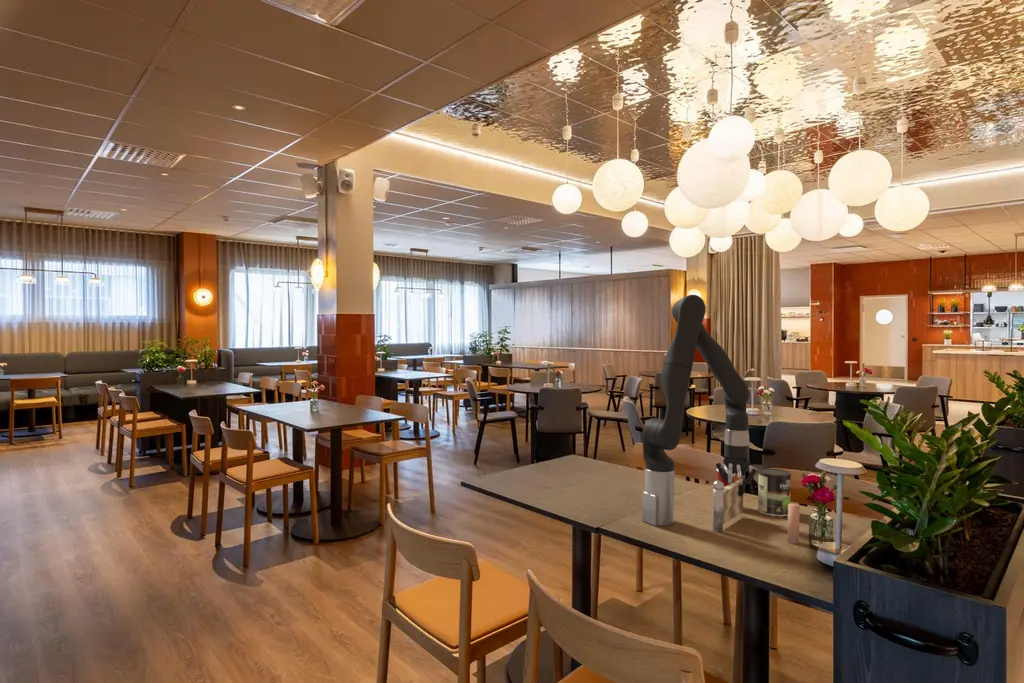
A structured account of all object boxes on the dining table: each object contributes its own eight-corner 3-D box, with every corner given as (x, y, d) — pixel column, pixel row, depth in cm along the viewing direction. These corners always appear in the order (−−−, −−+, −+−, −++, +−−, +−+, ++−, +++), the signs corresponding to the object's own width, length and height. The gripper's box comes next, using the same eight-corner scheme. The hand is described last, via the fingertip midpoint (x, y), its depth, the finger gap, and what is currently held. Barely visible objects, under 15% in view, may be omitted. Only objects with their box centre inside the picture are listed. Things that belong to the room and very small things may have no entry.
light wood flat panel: (723, 525, 175) (724, 491, 175) (717, 523, 176) (718, 490, 176) (743, 512, 187) (744, 481, 187) (737, 511, 189) (738, 480, 188)
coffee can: (796, 513, 191) (797, 472, 191) (780, 519, 185) (781, 477, 185) (767, 505, 200) (768, 466, 200) (751, 510, 194) (752, 470, 193)
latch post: (794, 544, 163) (795, 507, 163) (785, 541, 166) (786, 504, 165) (801, 542, 165) (801, 505, 164) (791, 539, 167) (792, 503, 167)
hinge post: (718, 533, 172) (719, 482, 171) (709, 529, 175) (710, 479, 174) (725, 531, 173) (726, 481, 173) (716, 528, 176) (717, 478, 176)
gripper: (762, 443, 183) (762, 496, 183) (720, 438, 192) (719, 488, 192) (754, 447, 177) (754, 501, 178) (711, 441, 186) (711, 493, 187)
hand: (736, 494), depth 185 cm, fingers closed on light wood flat panel, 2 cm apart
